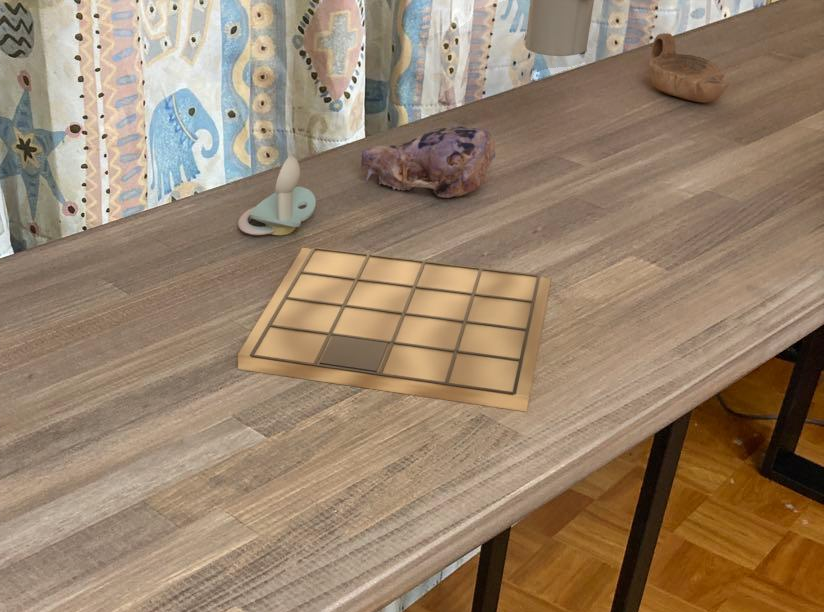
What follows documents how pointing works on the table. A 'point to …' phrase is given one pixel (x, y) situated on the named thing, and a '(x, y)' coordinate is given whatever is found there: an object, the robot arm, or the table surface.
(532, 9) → the grey upright cylinder
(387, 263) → the board
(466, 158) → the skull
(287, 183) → the pacifier
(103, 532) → the table surface
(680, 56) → the oil lamp
